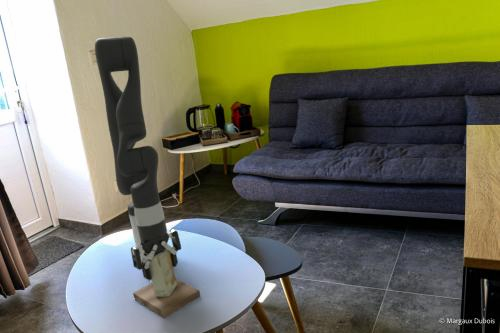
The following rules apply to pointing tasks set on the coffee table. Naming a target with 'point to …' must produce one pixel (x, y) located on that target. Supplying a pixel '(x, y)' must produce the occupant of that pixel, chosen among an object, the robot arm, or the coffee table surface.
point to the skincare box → (162, 274)
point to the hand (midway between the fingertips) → (161, 272)
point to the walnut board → (167, 298)
